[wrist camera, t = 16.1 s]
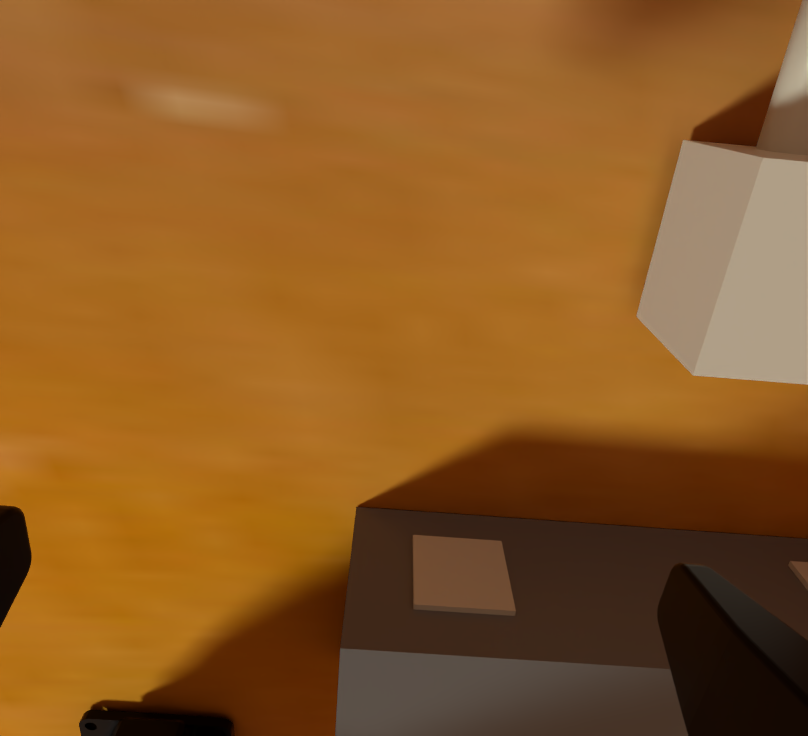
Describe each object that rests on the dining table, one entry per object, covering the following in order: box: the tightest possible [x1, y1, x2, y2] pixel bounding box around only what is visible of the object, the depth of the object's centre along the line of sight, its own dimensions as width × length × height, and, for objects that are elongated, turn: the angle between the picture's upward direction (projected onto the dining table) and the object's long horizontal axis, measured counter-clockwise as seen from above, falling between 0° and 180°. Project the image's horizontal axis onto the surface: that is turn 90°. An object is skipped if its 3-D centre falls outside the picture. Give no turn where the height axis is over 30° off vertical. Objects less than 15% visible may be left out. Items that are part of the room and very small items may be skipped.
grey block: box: [335, 507, 808, 736], centre depth 21 cm, size 8×20×6 cm, turn 85°
